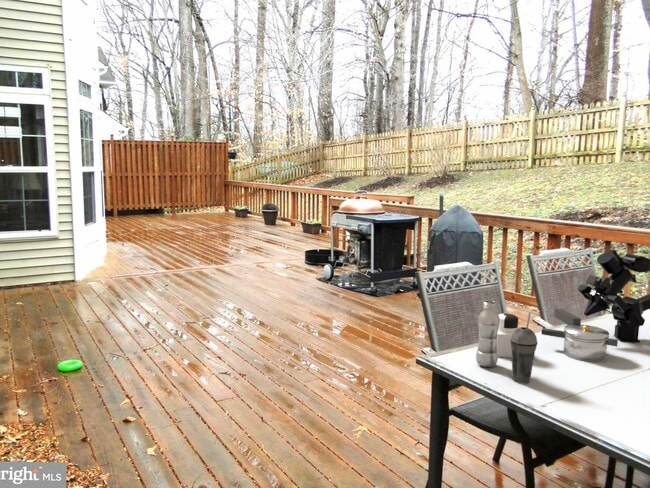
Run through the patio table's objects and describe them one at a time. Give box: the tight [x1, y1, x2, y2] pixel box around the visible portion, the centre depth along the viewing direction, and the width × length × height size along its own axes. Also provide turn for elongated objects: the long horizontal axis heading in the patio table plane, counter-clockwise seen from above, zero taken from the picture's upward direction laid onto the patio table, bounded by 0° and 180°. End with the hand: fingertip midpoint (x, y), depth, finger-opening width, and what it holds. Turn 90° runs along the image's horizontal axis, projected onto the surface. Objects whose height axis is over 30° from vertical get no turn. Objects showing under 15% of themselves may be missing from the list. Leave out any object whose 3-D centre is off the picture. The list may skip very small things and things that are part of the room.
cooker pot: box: [540, 327, 619, 363], centre depth 168 cm, size 22×13×7 cm, turn 57°
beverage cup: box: [510, 311, 538, 385], centre depth 145 cm, size 7×7×20 cm
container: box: [497, 313, 519, 358], centre depth 167 cm, size 8×8×13 cm
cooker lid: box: [553, 308, 610, 341], centre depth 172 cm, size 26×13×3 cm, turn 2°
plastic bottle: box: [475, 300, 500, 368], centre depth 156 cm, size 6×7×20 cm
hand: (585, 315), depth 178 cm, fingers closed
